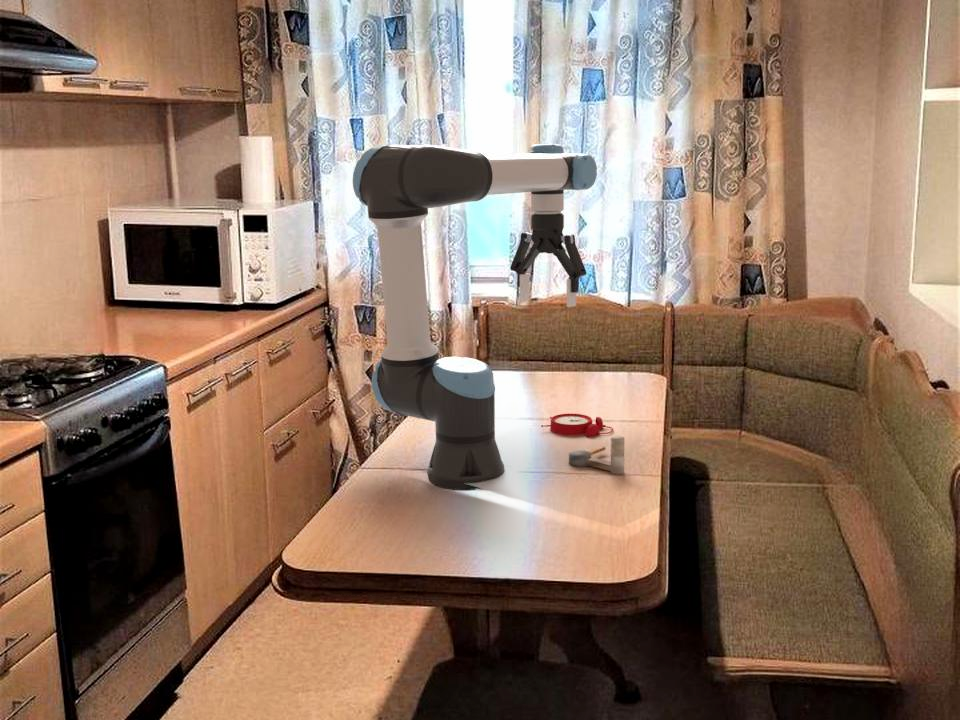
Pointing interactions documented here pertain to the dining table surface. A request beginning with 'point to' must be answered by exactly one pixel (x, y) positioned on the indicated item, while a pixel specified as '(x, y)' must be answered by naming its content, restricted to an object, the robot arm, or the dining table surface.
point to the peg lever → (615, 466)
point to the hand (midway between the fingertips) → (547, 303)
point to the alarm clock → (576, 425)
